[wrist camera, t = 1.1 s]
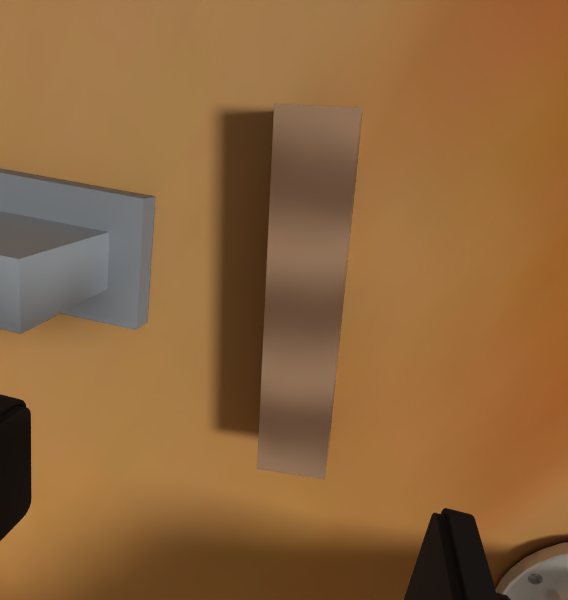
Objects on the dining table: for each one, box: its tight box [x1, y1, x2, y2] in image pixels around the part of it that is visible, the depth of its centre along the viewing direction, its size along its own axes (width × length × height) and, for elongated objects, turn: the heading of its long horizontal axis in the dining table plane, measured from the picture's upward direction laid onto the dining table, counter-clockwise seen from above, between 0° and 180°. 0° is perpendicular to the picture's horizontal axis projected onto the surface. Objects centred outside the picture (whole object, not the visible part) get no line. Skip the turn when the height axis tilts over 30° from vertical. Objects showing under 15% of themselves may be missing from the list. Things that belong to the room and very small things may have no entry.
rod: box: [257, 104, 362, 479], centre depth 26 cm, size 20×4×4 cm, turn 177°
